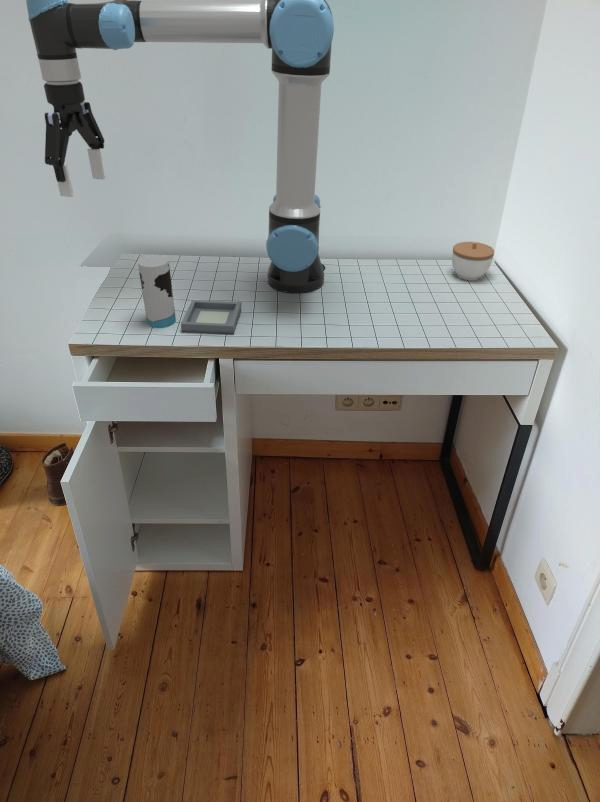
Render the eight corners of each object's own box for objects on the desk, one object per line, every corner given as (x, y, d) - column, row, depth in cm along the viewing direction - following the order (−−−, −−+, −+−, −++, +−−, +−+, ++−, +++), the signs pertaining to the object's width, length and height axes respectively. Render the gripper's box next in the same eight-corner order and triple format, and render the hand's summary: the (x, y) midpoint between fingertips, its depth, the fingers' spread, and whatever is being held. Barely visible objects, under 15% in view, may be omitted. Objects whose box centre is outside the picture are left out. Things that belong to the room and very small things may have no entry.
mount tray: (241, 310, 148) (241, 302, 147) (233, 334, 138) (233, 326, 137) (192, 308, 149) (192, 300, 147) (181, 332, 139) (180, 323, 138)
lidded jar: (477, 287, 160) (484, 254, 155) (441, 276, 166) (446, 243, 160) (495, 275, 167) (502, 242, 161) (460, 264, 172) (466, 232, 167)
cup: (181, 319, 144) (175, 259, 135) (161, 330, 139) (152, 269, 131) (161, 311, 147) (153, 252, 138) (140, 322, 143) (131, 262, 134)
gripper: (78, 72, 135) (96, 171, 147) (8, 90, 115) (36, 202, 127) (109, 73, 133) (124, 173, 146) (43, 92, 114) (68, 205, 126)
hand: (83, 187), depth 137 cm, fingers open, 13 cm apart
